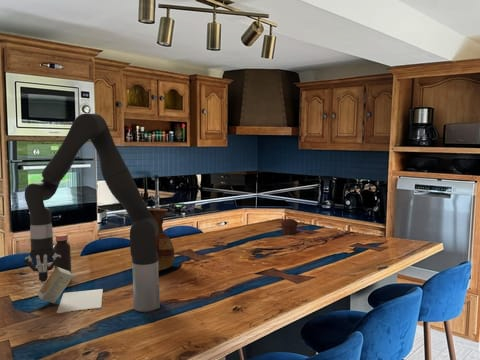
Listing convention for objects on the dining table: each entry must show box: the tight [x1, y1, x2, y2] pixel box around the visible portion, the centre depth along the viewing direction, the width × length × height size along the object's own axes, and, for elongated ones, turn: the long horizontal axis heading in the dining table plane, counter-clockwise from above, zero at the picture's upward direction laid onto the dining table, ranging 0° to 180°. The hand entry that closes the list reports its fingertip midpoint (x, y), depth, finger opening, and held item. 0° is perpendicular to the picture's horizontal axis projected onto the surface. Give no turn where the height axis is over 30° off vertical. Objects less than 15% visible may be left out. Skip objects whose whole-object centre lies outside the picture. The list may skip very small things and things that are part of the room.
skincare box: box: [37, 267, 74, 304], centre depth 155 cm, size 6×4×12 cm
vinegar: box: [53, 233, 72, 274], centre depth 183 cm, size 7×7×20 cm
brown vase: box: [147, 207, 175, 272], centre depth 196 cm, size 20×20×30 cm
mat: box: [56, 288, 104, 314], centre depth 158 cm, size 15×20×1 cm
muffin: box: [280, 218, 299, 236], centre depth 274 cm, size 12×11×10 cm
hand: (43, 281), depth 153 cm, fingers closed
